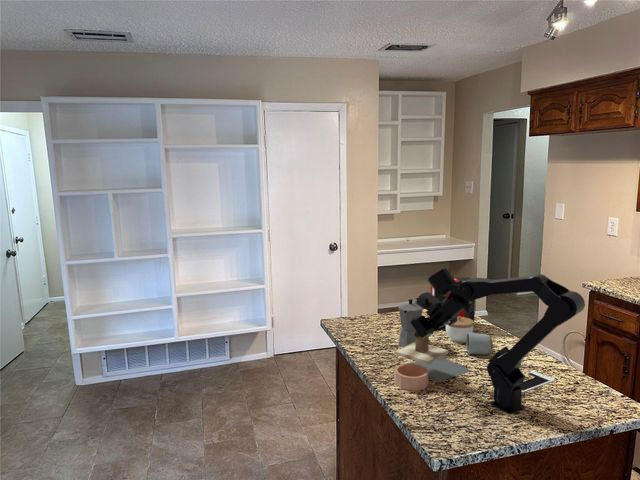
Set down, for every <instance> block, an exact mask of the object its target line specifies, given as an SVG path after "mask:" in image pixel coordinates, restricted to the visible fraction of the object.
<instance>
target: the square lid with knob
mask: <svg viewBox="0 0 640 480" xmlns="http://www.w3.org/2000/svg"><path fill="white" fill-rule="evenodd" d="M415 332H416V330H415ZM429 337H430V335H428V336H426V337H424V338H421V337H415V342H414V343H412V344H410V345H408V346H406V347H400V348H399V349H398V350H397V349H396V351H395V352H394V353H395V354H394V355H396V356H399V357H402V358H404V359H406V358H407V359H408V360H413V361H414V362H417V361H418V362H421V363H424V364H428V365H429V364H431V363H432V362H434V361H436V360H438V359H439V358H441V357H445V356H446V355H448V354H449V350H448V349H445V348H443V347H442V348H441V347H437V346H436V345H435V346H434V345H431V344H430V343H429V342H430V341H429Z"/></svg>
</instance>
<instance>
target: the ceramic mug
mask: <svg viewBox="0 0 640 480" xmlns="http://www.w3.org/2000/svg"><path fill="white" fill-rule="evenodd" d="M465 343H466V345H465V349H466V352H467V351H468V352H467V354H468V355H477V356H478V355H480V356H481V355H482V356H488V355H491V354H492V352H493V338H492V336H491V335H489V334H486V333H477V332H473V333H470V332H468V333H467V338H466V342H465Z"/></svg>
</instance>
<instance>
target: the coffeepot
mask: <svg viewBox="0 0 640 480" xmlns="http://www.w3.org/2000/svg"><path fill="white" fill-rule="evenodd" d="M423 309H424V308H422V307H420V306H419V305H418V304H417V300H415V301H413V298H412V299H411V298H410V299H408V303H402V304H400V305H398V312H399V319H400V325H401V328H400V332H399V338H398V346H399V347H400V348H404V347H406V346H408V345H410V344H412V343H414V342H415V335H414V334H415V328H414V327H413V326H412V324H411V323H410V321H411V320H412V319H413V318H414V317H416V316H419V315H423Z"/></svg>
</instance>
